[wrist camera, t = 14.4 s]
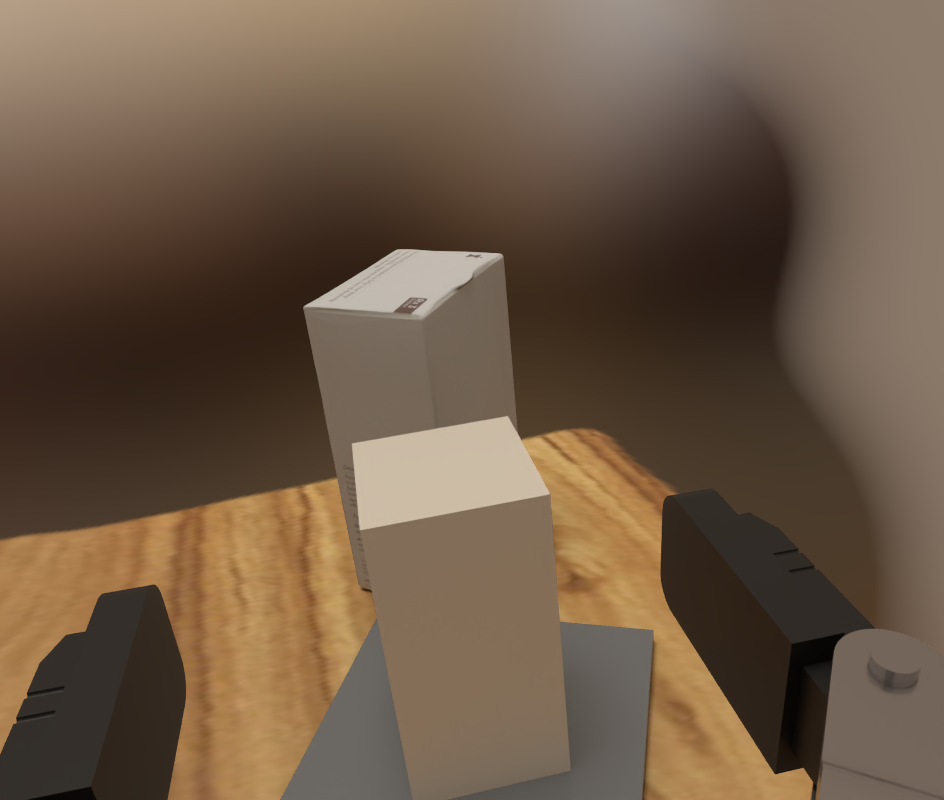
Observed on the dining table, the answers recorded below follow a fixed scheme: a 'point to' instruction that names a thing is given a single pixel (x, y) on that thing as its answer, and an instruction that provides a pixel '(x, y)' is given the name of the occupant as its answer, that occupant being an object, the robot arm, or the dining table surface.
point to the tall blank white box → (465, 605)
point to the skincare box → (410, 355)
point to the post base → (556, 796)
